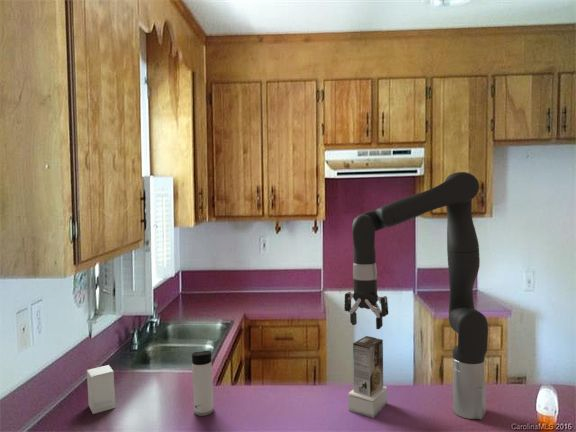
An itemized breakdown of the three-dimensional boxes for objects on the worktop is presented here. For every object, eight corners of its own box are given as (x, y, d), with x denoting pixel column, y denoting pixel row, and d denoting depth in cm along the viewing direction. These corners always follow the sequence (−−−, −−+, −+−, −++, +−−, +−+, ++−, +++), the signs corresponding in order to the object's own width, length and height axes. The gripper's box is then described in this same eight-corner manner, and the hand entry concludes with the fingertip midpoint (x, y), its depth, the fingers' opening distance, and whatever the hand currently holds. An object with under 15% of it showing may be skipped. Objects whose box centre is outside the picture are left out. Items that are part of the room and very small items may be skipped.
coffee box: (366, 382, 149) (366, 335, 148) (383, 387, 145) (383, 339, 144) (352, 392, 142) (352, 342, 141) (370, 397, 138) (370, 346, 137)
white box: (387, 403, 146) (386, 388, 146) (373, 418, 137) (373, 402, 137) (363, 396, 151) (363, 382, 150) (348, 410, 142) (348, 395, 141)
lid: (386, 388, 146) (386, 386, 146) (373, 401, 136) (373, 399, 136) (363, 382, 150) (363, 380, 150) (348, 394, 141) (348, 392, 141)
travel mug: (195, 418, 140) (192, 356, 139) (193, 408, 146) (190, 349, 145) (214, 414, 142) (212, 353, 140) (212, 405, 148) (210, 346, 147)
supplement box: (116, 407, 148) (114, 371, 147) (92, 414, 144) (90, 376, 143) (111, 399, 154) (109, 364, 153) (88, 405, 150) (86, 369, 149)
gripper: (339, 277, 142) (341, 326, 143) (381, 281, 134) (382, 333, 135) (350, 272, 148) (351, 320, 149) (390, 276, 140) (391, 326, 141)
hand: (366, 326), depth 142 cm, fingers open, 8 cm apart
